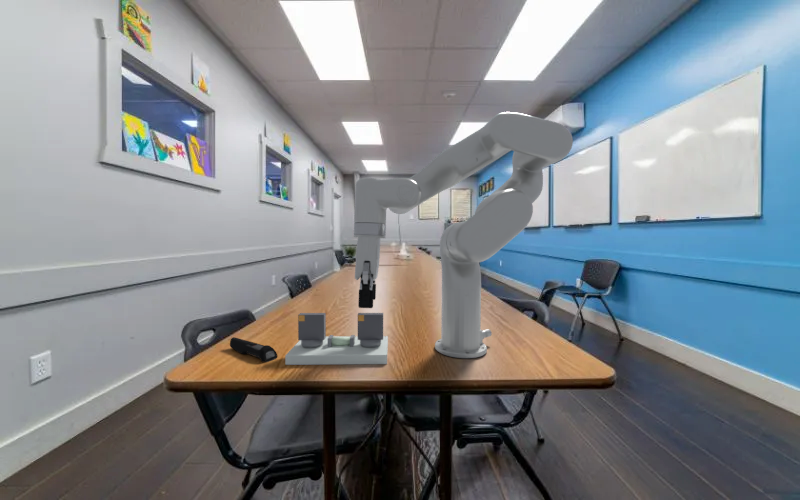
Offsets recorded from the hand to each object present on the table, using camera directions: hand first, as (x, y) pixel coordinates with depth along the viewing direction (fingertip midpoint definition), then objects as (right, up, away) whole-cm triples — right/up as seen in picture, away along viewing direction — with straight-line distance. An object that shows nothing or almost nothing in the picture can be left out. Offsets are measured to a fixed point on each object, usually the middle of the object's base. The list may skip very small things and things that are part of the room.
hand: (367, 303), depth 71 cm
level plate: (-6, -12, 0) cm, 14 cm away
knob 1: (-13, -10, 0) cm, 16 cm away
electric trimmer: (-28, -12, -1) cm, 30 cm away
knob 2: (+1, -10, 0) cm, 10 cm away
